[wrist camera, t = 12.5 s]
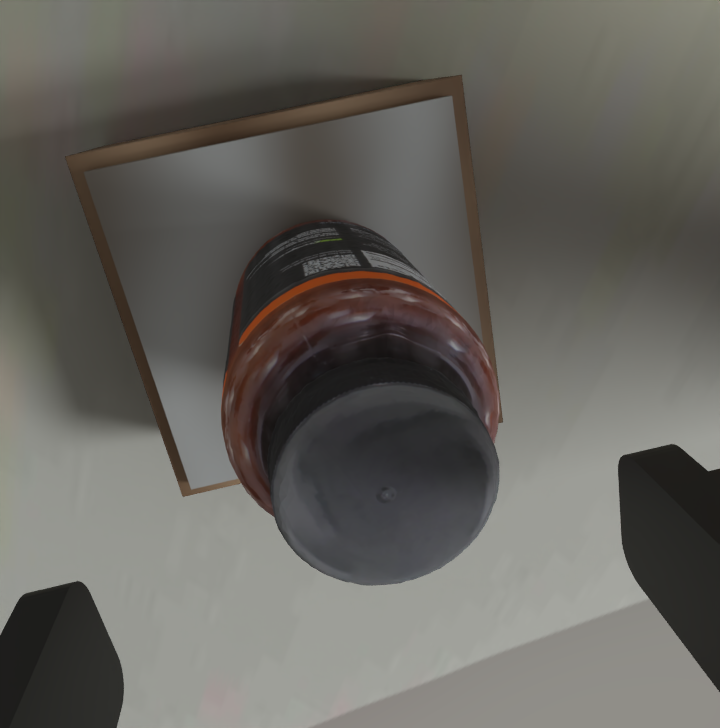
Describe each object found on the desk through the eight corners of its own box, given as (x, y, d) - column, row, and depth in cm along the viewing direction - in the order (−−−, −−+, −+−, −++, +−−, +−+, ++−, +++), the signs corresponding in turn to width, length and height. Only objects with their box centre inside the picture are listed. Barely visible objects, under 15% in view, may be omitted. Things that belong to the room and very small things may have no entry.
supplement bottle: (317, 423, 23) (360, 688, 13) (194, 299, 21) (123, 495, 11) (452, 313, 22) (616, 499, 12) (338, 173, 20) (416, 249, 10)
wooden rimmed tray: (425, 79, 25) (465, 74, 20) (465, 371, 29) (507, 428, 24) (103, 146, 24) (59, 157, 19) (196, 433, 29) (181, 504, 24)
